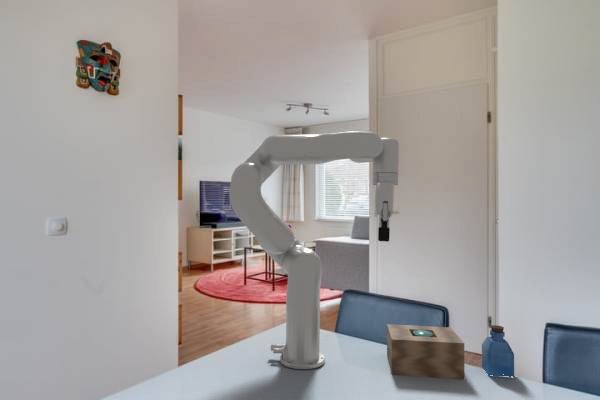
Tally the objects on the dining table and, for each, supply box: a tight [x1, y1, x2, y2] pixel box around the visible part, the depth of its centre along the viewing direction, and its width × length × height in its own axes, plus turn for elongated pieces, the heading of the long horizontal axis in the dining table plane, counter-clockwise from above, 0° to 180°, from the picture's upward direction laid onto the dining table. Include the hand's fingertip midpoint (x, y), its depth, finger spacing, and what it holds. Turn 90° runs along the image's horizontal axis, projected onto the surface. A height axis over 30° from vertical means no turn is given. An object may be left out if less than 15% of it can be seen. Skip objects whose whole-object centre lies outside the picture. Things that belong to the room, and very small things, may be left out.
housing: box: [386, 323, 465, 380], centre depth 106 cm, size 18×14×9 cm
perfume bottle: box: [481, 324, 515, 378], centre depth 102 cm, size 6×6×12 cm
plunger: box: [413, 330, 433, 337], centre depth 106 cm, size 5×5×9 cm
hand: (383, 241), depth 115 cm, fingers closed
